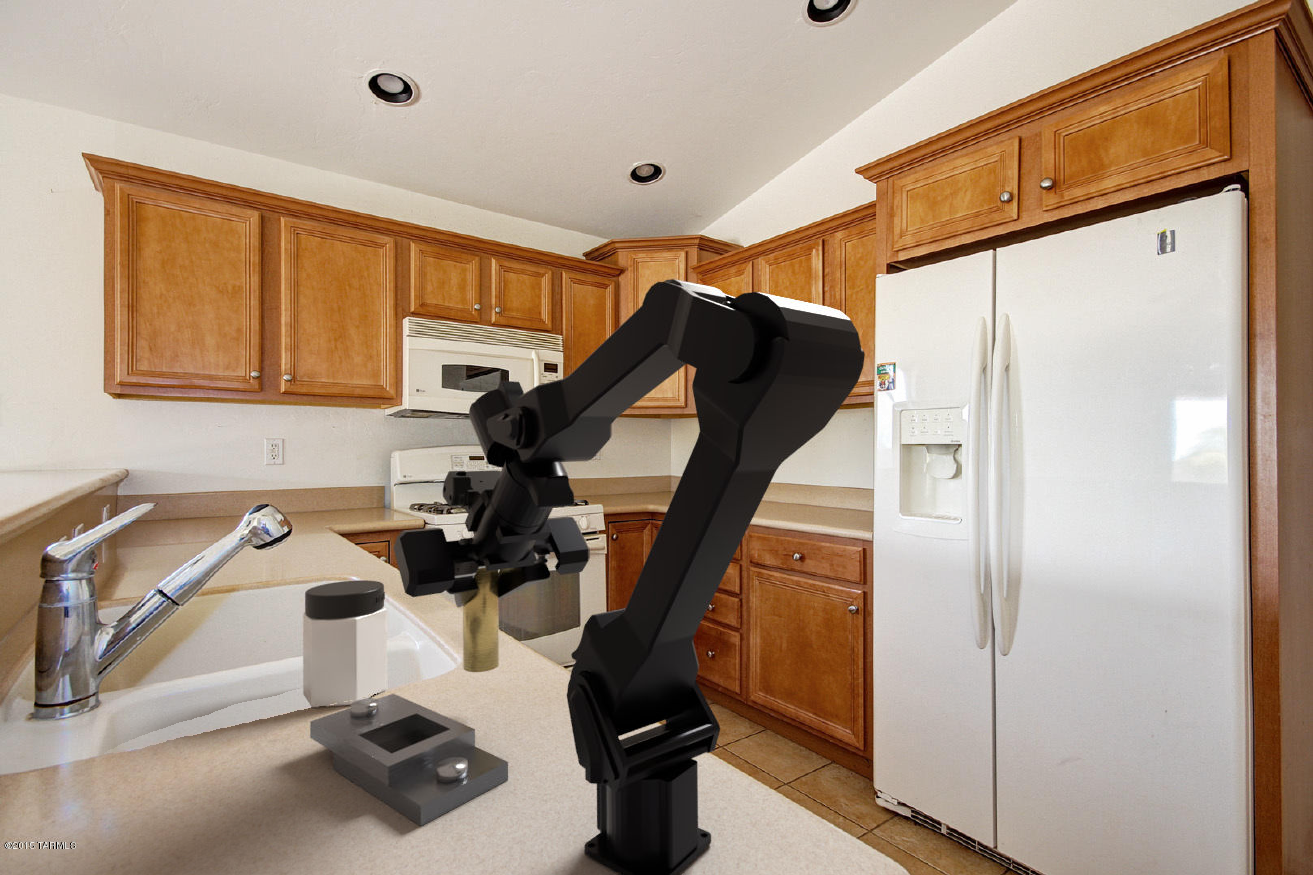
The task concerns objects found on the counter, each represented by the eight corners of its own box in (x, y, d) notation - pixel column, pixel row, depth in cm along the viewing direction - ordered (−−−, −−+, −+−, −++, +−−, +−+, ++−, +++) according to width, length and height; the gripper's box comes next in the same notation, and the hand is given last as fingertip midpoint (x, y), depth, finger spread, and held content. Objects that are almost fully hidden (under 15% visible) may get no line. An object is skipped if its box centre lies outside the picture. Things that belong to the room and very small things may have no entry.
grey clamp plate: (508, 779, 52) (507, 733, 52) (420, 826, 46) (420, 773, 46) (393, 723, 63) (393, 685, 63) (310, 754, 57) (310, 712, 57)
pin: (505, 664, 66) (505, 541, 66) (477, 674, 63) (476, 545, 64) (484, 657, 68) (484, 538, 69) (456, 667, 66) (455, 542, 66)
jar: (395, 695, 71) (395, 588, 71) (314, 715, 65) (314, 600, 66) (372, 673, 78) (372, 576, 78) (298, 690, 72) (297, 586, 73)
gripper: (575, 443, 69) (530, 533, 77) (399, 444, 57) (368, 550, 66) (616, 521, 63) (562, 610, 71) (427, 539, 51) (390, 643, 60)
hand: (475, 600), depth 67 cm, fingers closed on pin, 4 cm apart
